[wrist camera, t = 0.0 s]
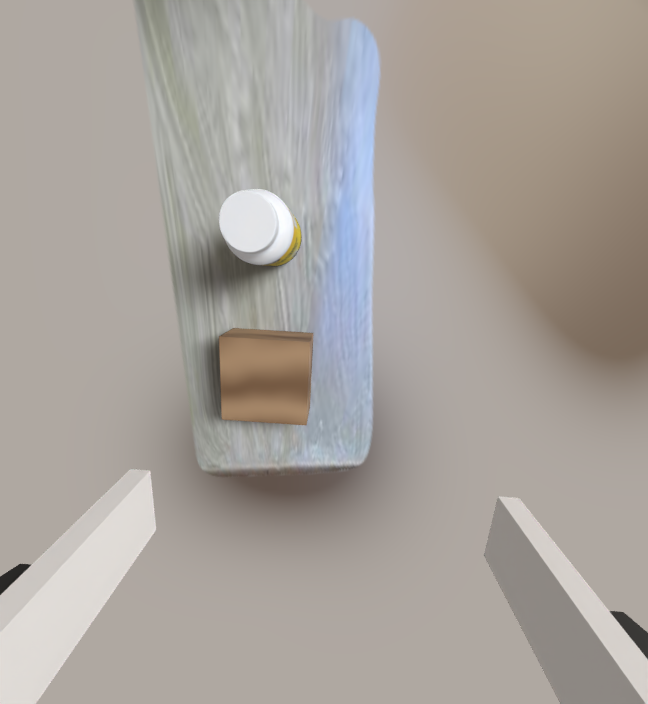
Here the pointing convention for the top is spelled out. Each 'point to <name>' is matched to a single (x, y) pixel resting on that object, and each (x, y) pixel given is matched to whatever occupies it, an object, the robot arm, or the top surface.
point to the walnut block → (265, 375)
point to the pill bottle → (259, 228)
